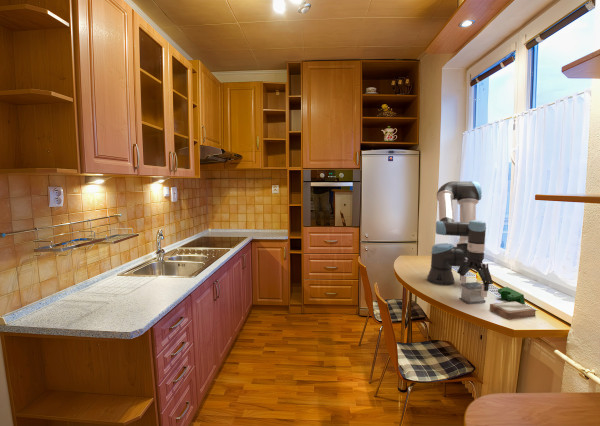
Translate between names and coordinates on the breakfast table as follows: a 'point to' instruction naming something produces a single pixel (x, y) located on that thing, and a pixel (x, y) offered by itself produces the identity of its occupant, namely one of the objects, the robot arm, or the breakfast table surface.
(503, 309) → the stand
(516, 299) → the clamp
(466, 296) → the block
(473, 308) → the breakfast table surface
